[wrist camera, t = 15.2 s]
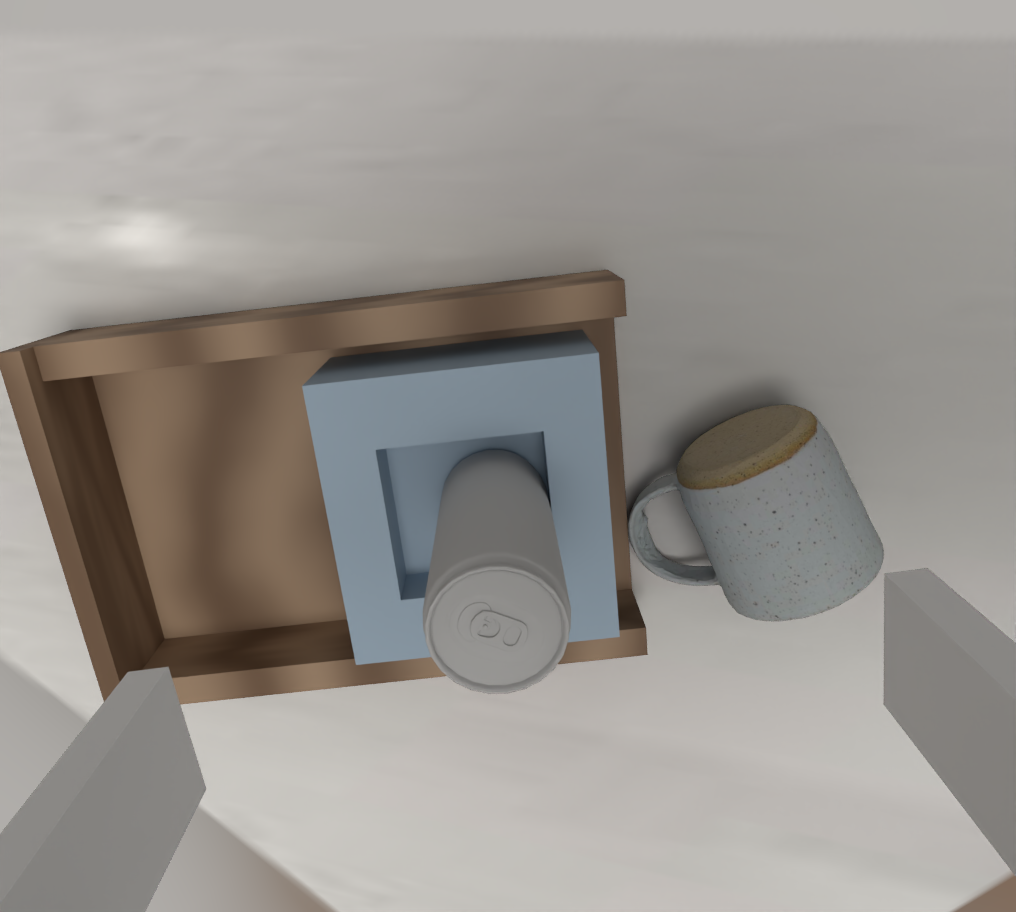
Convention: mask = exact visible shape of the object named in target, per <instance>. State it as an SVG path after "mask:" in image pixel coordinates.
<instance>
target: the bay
mask: <svg viewBox="0 0 1016 912" xmlns="http://www.w3.org/2000/svg"><path fill="white" fill-rule="evenodd" d="M622 316H627V315H626V299H625V283H624V280H623V279H622V278H620V277H619V276H617V275H615V274H614V273H612V272H610V271H609V270H601V271H592V272H583V273H574V274H566V275H557V276H548V277H539V278H530V279H521V280H512V281H503V282H495V283H486V284H477V285H468V286H459V287H450V288H441V289H433V290H424V291H415V292H406V293H397V294H388V295H379V296H371V297H362V298H353V299H344V300H335V301H326V302H317V303H309V304H300V305H291V306H282V307H273V308H264V309H255V310H247V311H238V312H229V313H220V314H211V315H202V316H193V317H184V318H176V319H167V320H158V321H149V322H140V323H131V324H122V325H114V326H105V327H96V328H87V329H78V330H69V331H66V332H63V333H60V334H57V335H53V336H50V337H47V338H44V339H41V340H37V341H34V342H31V343H28V344H25V345H22V346H18V347H15V348H12V349H9V350H6V351H2V352H0V370H1V373H2V376H3V379H4V383H5V386H6V389H7V392H8V395H9V399H10V402H11V405H12V408H13V411H14V415H15V418H16V421H17V424H18V427H19V431H20V434H21V437H22V440H23V444H24V447H25V450H26V453H27V456H28V460H29V463H30V466H31V469H32V472H33V476H34V479H35V482H36V485H37V488H38V492H39V495H40V498H41V501H42V504H43V508H44V511H45V514H46V517H47V520H48V524H49V527H50V530H51V533H52V536H53V540H54V543H55V546H56V549H57V552H58V556H59V559H60V562H61V565H62V568H63V572H64V575H65V578H66V581H67V584H68V588H69V591H70V594H71V597H72V600H73V604H74V607H75V610H76V613H77V616H78V620H79V623H80V626H81V629H82V632H83V636H84V639H85V642H86V645H87V648H88V652H89V655H90V658H91V661H92V665H93V668H94V671H95V674H96V677H97V681H98V684H99V687H100V690H101V693H102V697H103V700H104V702H105V700H106V699H107V698H108V696H109V695H110V694H111V693H112V691H113V690H114V689H115V688H116V686H117V685H118V684H119V683H120V681H121V680H122V679H123V677H124V676H125V675H126V674H127V672H131V671H139V670H147V669H154V668H162V667H169V670H170V673H171V677H172V680H173V683H174V686H175V690H176V693H177V696H178V699H179V702H180V704H188V703H198V702H207V701H217V700H226V699H235V698H245V697H254V696H264V695H273V694H283V693H292V692H301V691H311V690H320V689H330V688H339V687H348V686H358V685H367V684H377V683H386V682H396V681H405V680H414V679H424V678H433V677H443V676H447V675H445V674H444V673H443V672H442V671H441V670H440V669H439V667H438V666H437V665H436V663H435V662H434V660H433V659H432V657H427V658H417V659H408V660H398V661H389V662H380V663H370V664H361V665H356V662H355V657H354V652H353V647H352V642H351V637H350V631H349V626H348V621H347V616H346V611H345V606H344V600H343V595H342V590H341V585H340V580H339V575H338V569H337V564H336V559H335V554H334V549H333V544H332V538H331V533H330V528H329V523H328V518H327V513H326V507H325V502H324V497H323V492H322V487H321V482H320V476H319V471H318V466H317V461H316V456H315V451H314V445H313V440H312V435H311V430H310V425H309V420H308V414H307V409H306V404H305V399H304V394H303V389H302V386H303V385H304V384H305V383H306V382H307V381H308V380H309V379H310V378H311V377H312V376H313V375H314V374H315V373H316V372H317V371H318V370H319V369H320V368H321V367H322V366H323V365H324V364H325V363H326V362H327V361H328V360H329V359H330V358H332V357H341V356H349V355H358V354H367V353H376V352H385V351H394V350H403V349H412V348H421V347H430V346H439V345H448V344H457V343H466V342H475V341H484V340H492V339H501V338H510V337H519V336H528V335H537V334H546V333H555V332H564V331H573V330H583V331H584V332H585V334H586V335H587V337H588V338H589V340H590V341H591V342H592V344H593V345H594V347H595V348H596V350H597V351H598V352H599V362H600V375H601V389H602V403H603V416H604V430H605V443H606V457H607V470H608V484H609V497H610V511H611V525H612V538H613V552H614V565H615V579H616V592H617V606H618V619H619V633H620V637H614V638H605V639H596V640H586V641H577V642H568V643H567V646H566V649H565V652H564V655H563V657H562V658H561V660H560V661H559V663H558V664H565V663H575V662H584V661H593V660H603V659H612V658H622V657H631V656H640V655H648V654H647V638H646V627H645V624H644V621H643V618H642V616H641V613H640V610H639V607H638V605H637V602H636V599H635V596H634V594H633V591H632V585H631V570H630V555H629V540H628V525H627V510H626V495H625V480H624V465H623V450H622V435H621V421H620V406H619V391H618V376H617V361H616V346H615V331H614V317H622Z"/></svg>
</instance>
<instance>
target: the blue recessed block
mask: <svg viewBox="0 0 1016 912" xmlns="http://www.w3.org/2000/svg"><path fill="white" fill-rule="evenodd" d="M302 389H303V394H304V399H305V404H306V409H307V414H308V420H309V425H310V430H311V435H312V440H313V445H314V451H315V456H316V461H317V466H318V471H319V476H320V482H321V487H322V492H323V497H324V502H325V507H326V513H327V518H328V523H329V528H330V533H331V538H332V544H333V549H334V554H335V559H336V564H337V569H338V575H339V580H340V585H341V590H342V595H343V600H344V606H345V611H346V616H347V621H348V626H349V631H350V637H351V642H352V647H353V652H354V657H355V662H356V665H361V664H370V663H380V662H389V661H398V660H408V659H417V658H427V657H431V655H430V652H429V649H428V647H427V644H426V641H425V633H424V631H423V605H424V599H425V593H426V587H427V581H428V575H429V569H430V563H431V557H432V551H433V545H434V539H435V533H436V526H437V520H438V514H439V508H440V502H441V496H442V492H443V488H444V484H445V481H446V479H447V478H448V476H449V474H450V472H451V471H452V469H453V468H455V467H456V466H457V465H458V464H459V463H460V462H461V461H462V460H463V459H465V458H467V457H469V456H471V455H472V454H474V453H478V452H482V451H486V450H504V451H508V452H512V453H515V454H517V455H519V456H520V457H522V458H523V459H525V460H527V461H528V462H529V463H530V464H531V465H532V466H533V467H534V468H535V469H536V471H537V472H538V473H539V475H540V477H541V478H542V480H543V482H544V484H545V487H546V490H547V494H548V498H549V502H550V507H551V511H552V516H553V521H554V525H555V530H556V535H557V540H558V545H559V550H560V555H561V560H562V565H563V570H564V575H565V581H566V586H567V591H568V596H569V601H570V606H571V629H570V632H569V640H568V642H577V641H586V640H596V639H605V638H614V637H620V633H619V619H618V606H617V592H616V579H615V565H614V552H613V538H612V525H611V511H610V497H609V484H608V470H607V457H606V443H605V430H604V416H603V403H602V389H601V375H600V362H599V352H598V351H597V350H596V348H595V347H594V345H593V344H592V342H591V341H590V340H589V338H588V337H587V335H586V334H585V332H584V331H583V330H573V331H564V332H555V333H546V334H537V335H528V336H519V337H510V338H501V339H492V340H484V341H475V342H466V343H457V344H448V345H439V346H430V347H421V348H412V349H403V350H394V351H385V352H376V353H367V354H358V355H349V356H341V357H332V358H330V359H329V360H328V361H327V362H326V363H325V364H324V365H323V366H322V367H321V368H320V369H319V370H318V371H317V372H316V373H315V374H314V375H313V376H312V377H311V378H310V379H309V380H308V381H307V382H306V383H305V384H304V385H303V386H302Z"/></svg>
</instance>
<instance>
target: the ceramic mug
mask: <svg viewBox="0 0 1016 912" xmlns="http://www.w3.org/2000/svg"><path fill="white" fill-rule="evenodd" d="M672 490H679V491H680V492H681V496H682V499H683V502H684V504H685V507H686V509H687V511H688V513H689V515H690V517H691V519H692V522H693V523H694V525H695V527H696V529H697V531H698V534H699V536H700V538H701V540H702V542H703V545H704V547H705V549H706V552H707V555H708V558H709V560H710V562H711V564H712V566H689V565H682V564H679V563H676V562H673V561H671V560H669V559H667V558H665V557H663V556H662V555H661V554H660V552H659V551H657V550H656V548H655V546H654V544H653V541H652V539H651V536H650V534H649V532H648V528H647V520H648V518H647V517H646V516H645V515H644V513H643V512H642V509H643V508H644V507H645V505H646V504H647V503H648V502H649V501H650V500H651V499H654V498H656V497H658V496H659V495H661V494H663V493H667V492H670V491H672ZM628 530H629V538H630V541H631V544H632V546H633V549H634V551H635V553H636V555H637V557H638V558H639V560H640V561H641V562H642V564H643V565H644V566H645V567H646V568H647V569H649V570H650V571H651V572H653V573H654V574H656V575H657V576H660V577H662V578H664V579H666V580H669V581H672V582H675V583H679V584H685V585H692V586H708V585H720V586H721V587H722V589H723V591H724V594H725V596H726V598H727V600H728V602H729V603H730V605H731V606H732V607H733V608H734V609H735V610H736V612H738V613H739V614H741V615H744V616H746V617H749V618H752V619H755V620H762V621H786V620H793V619H800V618H805V617H809V616H812V615H815V614H819V613H822V612H824V611H827V610H830V609H832V608H834V607H836V606H839V605H841V604H842V603H844V602H846V601H847V600H849V599H851V598H853V597H854V596H855V595H857V594H858V593H859V592H860V591H862V590H863V589H864V588H866V587H867V586H868V585H869V584H870V583H871V582H872V580H873V579H874V578H875V577H876V575H877V574H878V572H879V570H880V568H881V565H882V562H883V555H884V550H883V545H882V543H881V540H880V538H879V536H878V534H877V532H876V530H875V528H874V526H873V525H872V523H871V521H870V518H869V516H868V514H867V512H866V510H865V507H864V505H863V503H862V501H861V499H860V497H859V495H858V493H857V491H856V489H855V487H854V485H853V483H852V481H851V479H850V477H849V475H848V473H847V471H846V469H845V467H844V465H843V463H842V460H841V458H840V456H839V453H838V451H837V449H836V447H835V445H834V443H833V441H832V439H831V438H830V436H829V435H828V433H827V432H826V430H825V429H824V428H823V426H822V425H821V423H820V422H819V420H818V419H817V418H816V417H815V416H814V415H813V414H812V413H811V412H809V411H808V410H806V409H803V408H800V407H797V406H792V405H775V406H769V407H763V408H759V409H755V410H752V411H749V412H746V413H744V414H741V415H739V416H736V417H734V418H731V419H729V420H727V421H725V422H723V423H721V424H719V425H717V426H715V427H714V428H712V429H711V430H709V431H707V432H706V433H704V434H703V435H701V436H700V437H699V438H698V439H696V440H695V441H694V442H693V443H692V444H691V445H690V446H689V447H688V448H687V449H686V450H685V451H684V453H683V455H682V457H681V459H680V461H679V464H678V467H677V473H675V474H671V475H666V476H663V477H661V478H660V479H658V480H656V481H655V482H653V483H652V484H650V485H648V486H647V487H646V488H645V489H644V490H643V491H642V492H641V493H640V495H639V496H638V498H637V499H636V501H635V503H634V505H633V508H632V510H631V513H630V517H629V522H628Z"/></svg>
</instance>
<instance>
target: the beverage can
mask: <svg viewBox="0 0 1016 912" xmlns="http://www.w3.org/2000/svg"><path fill="white" fill-rule="evenodd" d="M570 629H571V606H570V601H569V596H568V591H567V586H566V581H565V575H564V570H563V565H562V560H561V555H560V550H559V545H558V540H557V535H556V530H555V525H554V521H553V516H552V511H551V507H550V502H549V498H548V494H547V490H546V487H545V484H544V482H543V480H542V478H541V477H540V475H539V473H538V472H537V471H536V469H535V468H534V467H533V466H532V465H531V464H530V463H529V462H528V461H527V460H525V459H523V458H522V457H520V456H519V455H517V454H515V453H512V452H508V451H504V450H486V451H482V452H478V453H474V454H472V455H471V456H469V457H467V458H465V459H463V460H462V461H461V462H460V463H459V464H458V465H457V466H456V467H455V468H453V469H452V471H451V472H450V474H449V476H448V478H447V479H446V481H445V484H444V488H443V492H442V496H441V502H440V508H439V514H438V520H437V526H436V533H435V539H434V545H433V551H432V557H431V563H430V569H429V575H428V581H427V587H426V593H425V599H424V605H423V631H424V633H425V641H426V644H427V647H428V649H429V652H430V655H431V657H432V659H433V660H434V662H435V663H436V665H437V666H438V667H439V669H440V670H441V671H442V672H443V673H444V674H445V675H447V676H448V677H449V678H450V679H451V680H453V681H454V682H455V683H457V684H459V685H462V686H464V687H466V688H468V689H470V690H474V691H478V692H483V693H488V694H505V693H511V692H515V691H519V690H523V689H526V688H528V687H530V686H532V685H534V684H536V683H538V682H540V681H541V680H542V679H543V678H545V677H546V676H547V675H548V674H549V673H550V672H551V671H553V670H554V668H555V667H556V665H557V664H558V663H559V661H560V660H561V658H562V657H563V655H564V652H565V649H566V646H567V643H568V640H569V632H570Z"/></svg>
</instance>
